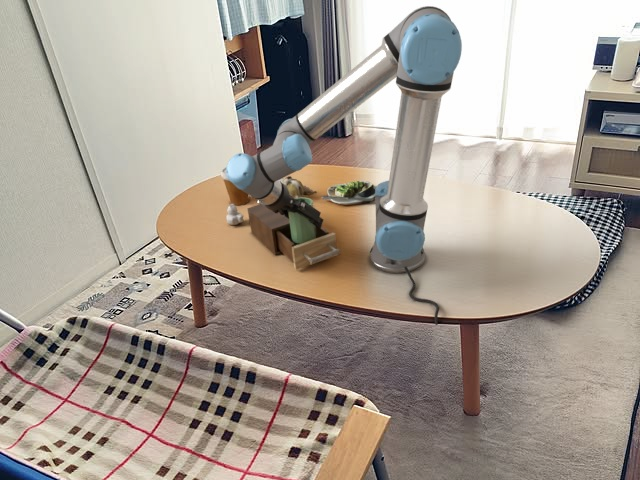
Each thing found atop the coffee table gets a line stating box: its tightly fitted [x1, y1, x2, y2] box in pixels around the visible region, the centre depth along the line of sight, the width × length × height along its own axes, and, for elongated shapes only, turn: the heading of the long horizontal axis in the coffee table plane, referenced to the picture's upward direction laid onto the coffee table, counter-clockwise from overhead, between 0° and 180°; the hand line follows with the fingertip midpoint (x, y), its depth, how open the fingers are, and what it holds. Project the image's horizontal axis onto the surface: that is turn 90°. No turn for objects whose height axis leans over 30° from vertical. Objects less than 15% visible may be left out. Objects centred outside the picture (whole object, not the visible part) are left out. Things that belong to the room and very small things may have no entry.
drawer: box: [275, 226, 341, 271], centre depth 163 cm, size 23×14×7 cm, turn 29°
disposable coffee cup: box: [220, 166, 249, 206], centre depth 198 cm, size 10×10×12 cm
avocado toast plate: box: [321, 180, 376, 206], centre depth 195 cm, size 19×18×5 cm
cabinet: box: [246, 204, 290, 256], centre depth 175 cm, size 18×15×9 cm
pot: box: [288, 196, 316, 244], centre depth 160 cm, size 7×7×11 cm
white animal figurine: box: [225, 202, 244, 226], centre depth 185 cm, size 5×7×8 cm
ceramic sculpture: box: [279, 175, 318, 199], centre depth 197 cm, size 11×9×15 cm
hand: (309, 221), depth 163 cm, fingers closed on pot, 7 cm apart
